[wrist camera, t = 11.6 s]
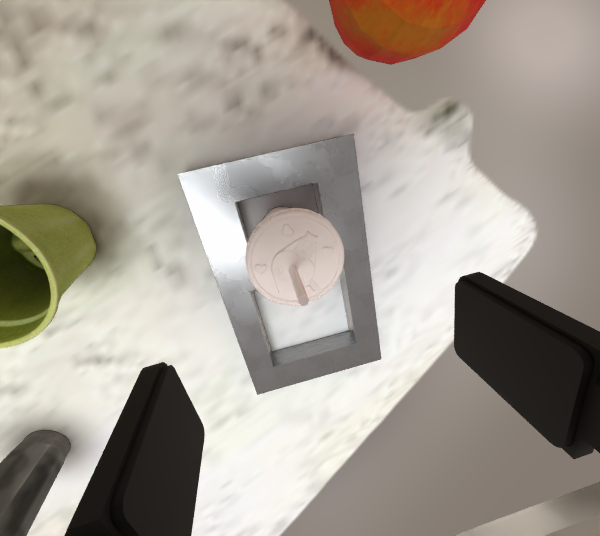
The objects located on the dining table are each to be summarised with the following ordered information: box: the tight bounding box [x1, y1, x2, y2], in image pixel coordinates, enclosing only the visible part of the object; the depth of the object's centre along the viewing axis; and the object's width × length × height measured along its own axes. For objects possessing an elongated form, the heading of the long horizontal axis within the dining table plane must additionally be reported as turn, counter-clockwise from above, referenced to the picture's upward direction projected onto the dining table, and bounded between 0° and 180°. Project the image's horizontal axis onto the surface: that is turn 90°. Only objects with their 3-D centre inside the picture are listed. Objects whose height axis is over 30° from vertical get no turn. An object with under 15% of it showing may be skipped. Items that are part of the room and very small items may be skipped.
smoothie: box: [245, 207, 344, 306], centre depth 20 cm, size 6×6×14 cm
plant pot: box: [0, 204, 96, 348], centre depth 20 cm, size 9×9×9 cm
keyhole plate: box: [178, 134, 381, 395], centre depth 28 cm, size 23×14×2 cm, turn 12°
